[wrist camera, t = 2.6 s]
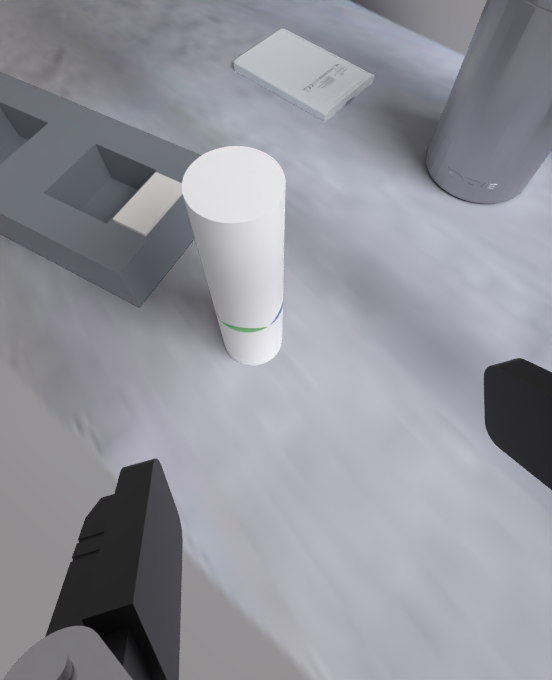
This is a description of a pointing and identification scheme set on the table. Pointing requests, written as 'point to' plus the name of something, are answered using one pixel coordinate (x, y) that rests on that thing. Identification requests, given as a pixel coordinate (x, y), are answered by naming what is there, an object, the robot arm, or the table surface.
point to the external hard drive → (303, 73)
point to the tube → (241, 245)
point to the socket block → (90, 191)
